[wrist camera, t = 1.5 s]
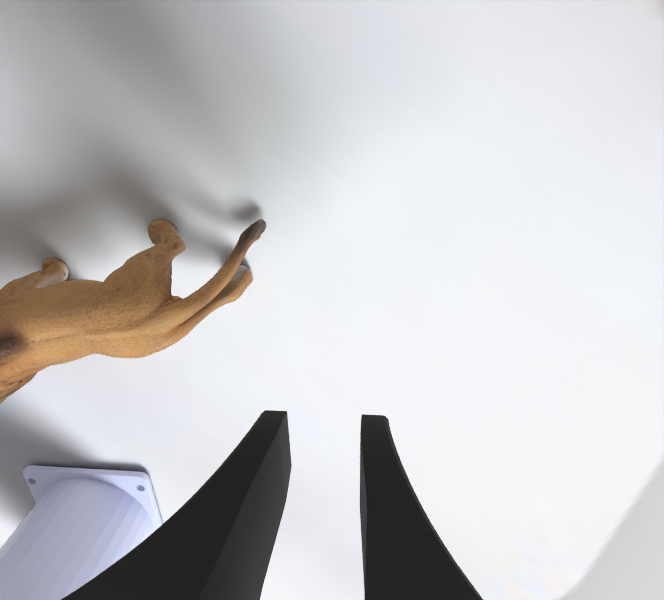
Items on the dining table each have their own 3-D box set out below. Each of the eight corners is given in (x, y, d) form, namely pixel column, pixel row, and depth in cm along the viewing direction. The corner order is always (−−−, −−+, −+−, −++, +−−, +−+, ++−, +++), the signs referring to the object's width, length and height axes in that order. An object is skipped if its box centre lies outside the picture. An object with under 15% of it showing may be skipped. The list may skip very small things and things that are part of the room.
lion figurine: (57, 366, 24) (-99, 508, 16) (-13, 284, 22) (-229, 400, 14) (294, 266, 21) (241, 389, 13) (235, 156, 19) (126, 218, 11)
